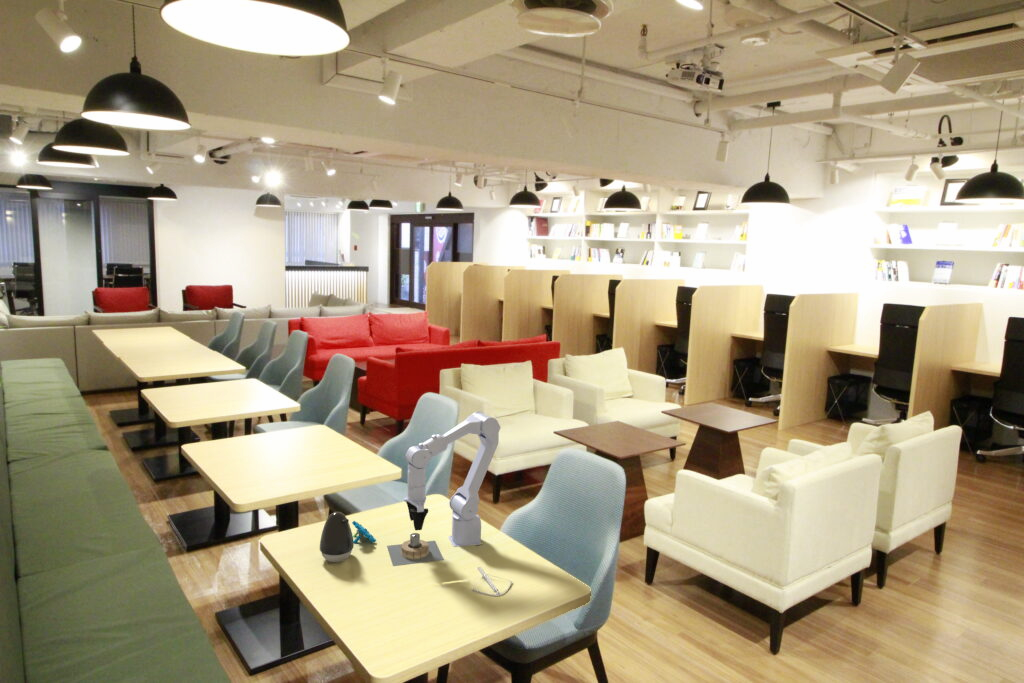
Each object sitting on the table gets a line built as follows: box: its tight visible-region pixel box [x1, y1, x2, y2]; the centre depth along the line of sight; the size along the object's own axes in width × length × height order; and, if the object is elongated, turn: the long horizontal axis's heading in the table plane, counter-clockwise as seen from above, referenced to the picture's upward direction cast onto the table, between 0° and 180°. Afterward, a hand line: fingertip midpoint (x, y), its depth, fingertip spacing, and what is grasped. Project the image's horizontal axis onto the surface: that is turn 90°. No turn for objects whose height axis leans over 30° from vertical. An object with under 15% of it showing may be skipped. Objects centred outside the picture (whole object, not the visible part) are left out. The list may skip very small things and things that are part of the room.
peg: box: [409, 532, 421, 549], centre depth 208 cm, size 3×3×6 cm
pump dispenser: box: [319, 511, 355, 563], centre depth 202 cm, size 10×10×15 cm
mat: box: [386, 540, 445, 567], centre depth 208 cm, size 16×14×1 cm
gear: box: [351, 520, 377, 544], centre depth 215 cm, size 11×6×10 cm
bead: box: [401, 539, 429, 559], centre depth 208 cm, size 8×8×2 cm
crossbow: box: [471, 566, 513, 597], centre depth 193 cm, size 16×13×2 cm
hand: (416, 524), depth 208 cm, fingers open, 7 cm apart
